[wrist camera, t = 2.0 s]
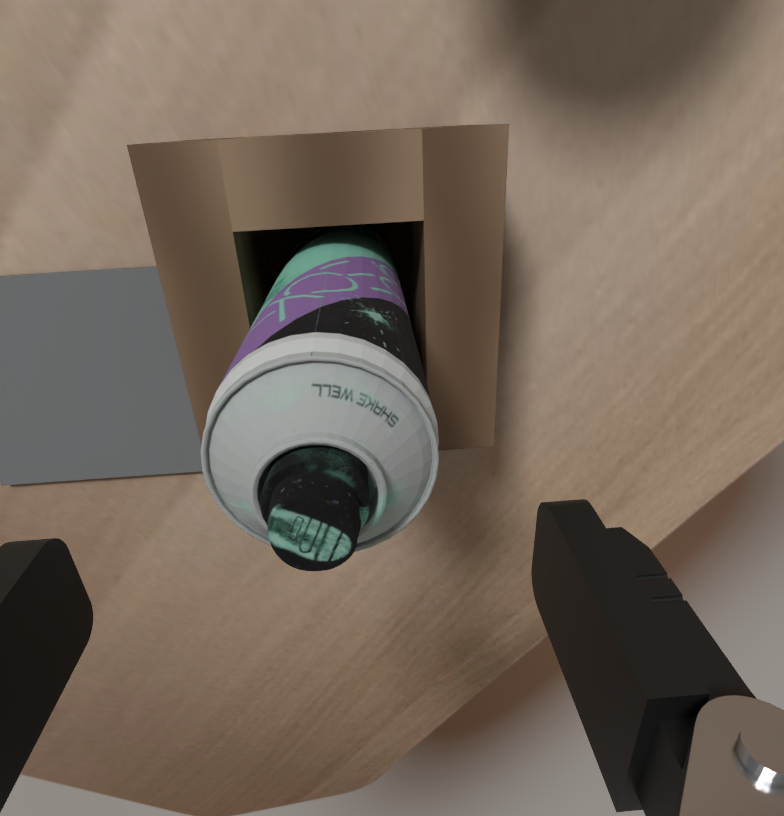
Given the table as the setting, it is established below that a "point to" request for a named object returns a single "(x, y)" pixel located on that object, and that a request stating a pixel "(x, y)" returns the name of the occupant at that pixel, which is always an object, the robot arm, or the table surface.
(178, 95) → the table surface
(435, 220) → the holder
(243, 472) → the spray can
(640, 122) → the table surface
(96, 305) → the mat
